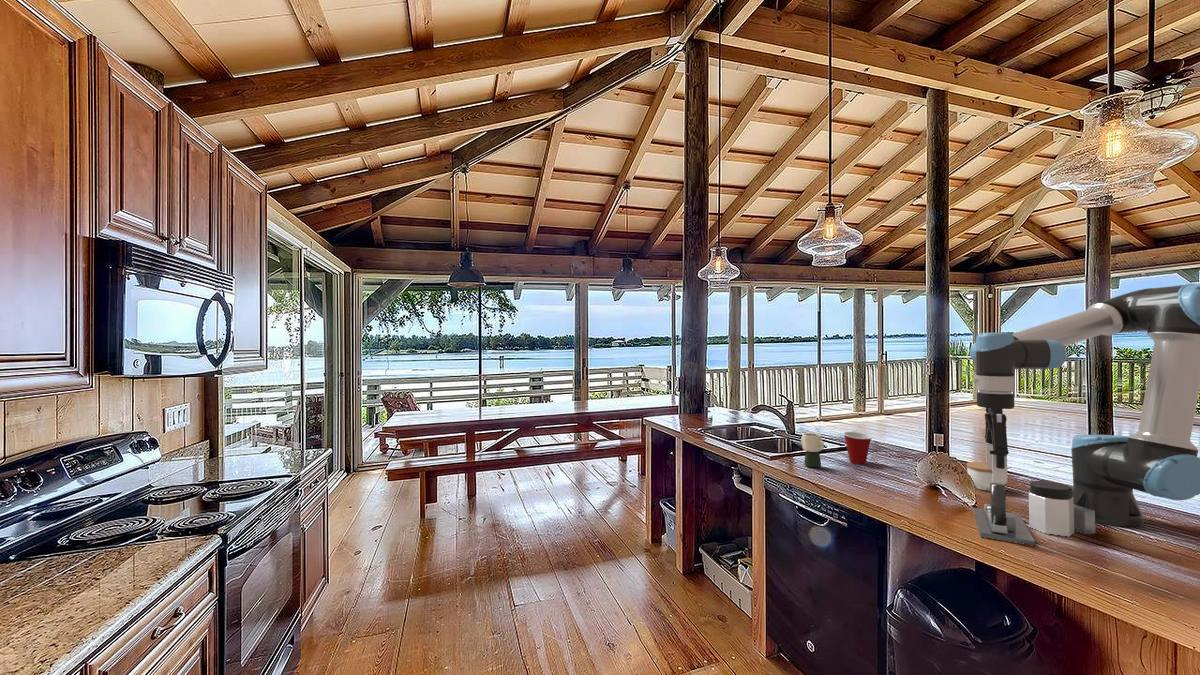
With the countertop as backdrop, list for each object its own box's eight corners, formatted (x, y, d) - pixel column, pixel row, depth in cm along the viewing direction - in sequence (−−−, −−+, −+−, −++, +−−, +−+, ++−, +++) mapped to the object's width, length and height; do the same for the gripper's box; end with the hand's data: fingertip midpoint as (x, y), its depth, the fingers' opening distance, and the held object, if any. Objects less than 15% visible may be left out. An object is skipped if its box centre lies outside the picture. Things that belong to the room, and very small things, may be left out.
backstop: (1061, 522, 131) (1060, 500, 131) (1095, 533, 123) (1094, 510, 123) (1052, 523, 130) (1051, 501, 130) (1085, 534, 122) (1084, 511, 122)
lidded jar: (962, 488, 162) (962, 460, 162) (972, 481, 168) (971, 455, 168) (1003, 495, 153) (1002, 466, 153) (1011, 488, 160) (1011, 460, 160)
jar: (1084, 536, 121) (1083, 489, 121) (1054, 538, 121) (1053, 490, 121) (1049, 523, 130) (1048, 479, 130) (1021, 524, 130) (1019, 480, 130)
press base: (1019, 518, 134) (1019, 514, 134) (1035, 546, 116) (1035, 541, 116) (972, 511, 140) (972, 507, 140) (980, 537, 122) (980, 532, 122)
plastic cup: (868, 467, 189) (867, 437, 189) (839, 463, 197) (838, 434, 197) (877, 462, 196) (876, 433, 196) (849, 458, 204) (848, 430, 204)
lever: (983, 510, 137) (982, 468, 137) (1007, 513, 134) (1005, 471, 134) (991, 532, 122) (990, 485, 122) (1018, 536, 119) (1016, 488, 119)
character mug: (830, 468, 189) (829, 435, 189) (817, 471, 186) (816, 437, 186) (808, 462, 199) (807, 431, 199) (795, 464, 196) (794, 433, 196)
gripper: (972, 387, 135) (973, 462, 135) (981, 396, 114) (982, 484, 114) (1006, 388, 131) (1007, 465, 130) (1023, 398, 110) (1024, 489, 110)
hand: (996, 474), depth 122 cm, fingers open, 13 cm apart
